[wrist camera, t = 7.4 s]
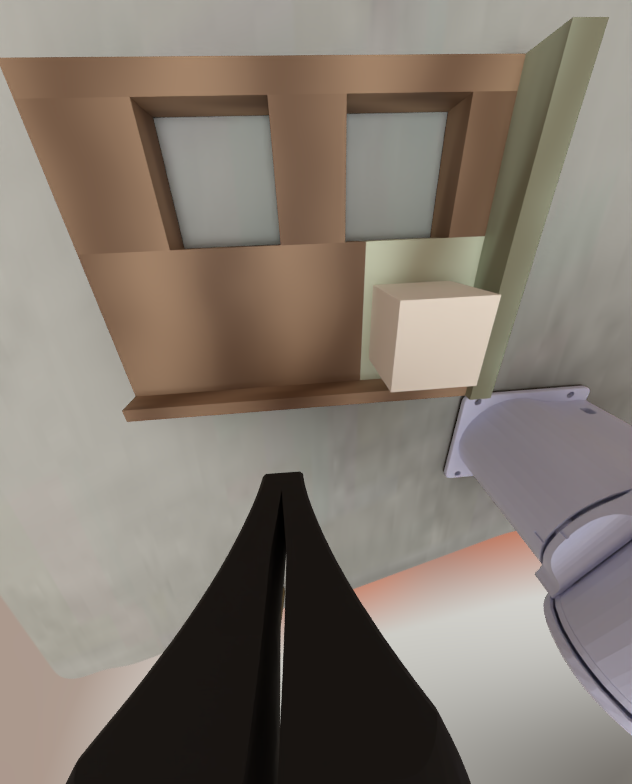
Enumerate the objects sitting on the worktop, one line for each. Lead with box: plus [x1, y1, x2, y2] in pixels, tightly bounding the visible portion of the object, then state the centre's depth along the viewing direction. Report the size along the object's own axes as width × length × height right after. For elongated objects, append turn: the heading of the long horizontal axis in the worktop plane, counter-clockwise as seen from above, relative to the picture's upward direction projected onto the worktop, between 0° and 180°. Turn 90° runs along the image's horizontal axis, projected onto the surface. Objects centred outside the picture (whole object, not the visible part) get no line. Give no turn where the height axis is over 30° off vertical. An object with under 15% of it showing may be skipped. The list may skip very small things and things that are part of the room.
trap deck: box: [0, 17, 609, 422], centre depth 13 cm, size 20×14×4 cm
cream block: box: [369, 281, 501, 392], centre depth 13 cm, size 4×4×4 cm
